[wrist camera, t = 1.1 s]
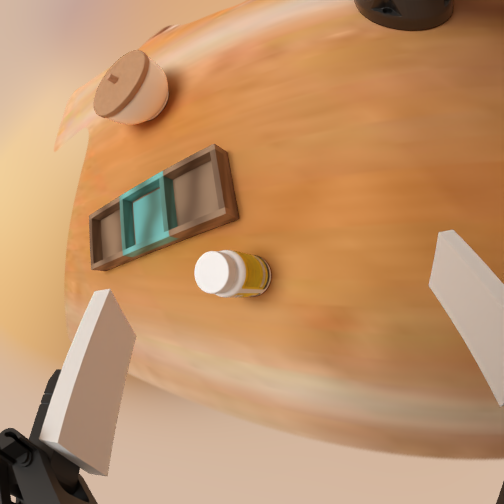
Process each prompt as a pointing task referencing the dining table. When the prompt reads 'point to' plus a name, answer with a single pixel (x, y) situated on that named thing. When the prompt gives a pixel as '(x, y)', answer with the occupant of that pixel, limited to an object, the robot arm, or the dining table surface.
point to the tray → (164, 210)
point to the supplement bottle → (232, 274)
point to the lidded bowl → (132, 90)
